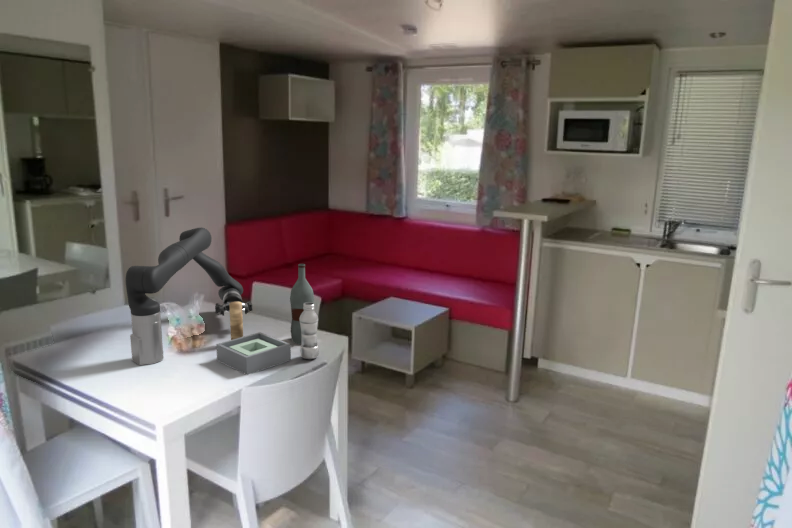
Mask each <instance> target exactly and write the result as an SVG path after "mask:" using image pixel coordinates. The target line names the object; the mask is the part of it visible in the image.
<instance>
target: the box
mask: <svg viewBox="0 0 792 528" xmlns="http://www.w3.org/2000/svg"><path fill="white" fill-rule="evenodd" d="M255 339H260V340H263V341H265V342H268V343H270V344H273V345H275V346H278V347H275V348H272V349H269V350H266V351H262V352H259V353H256V354H253V355H249V356H246V355H244V354H241V353H239V352H237V351H235V350H233V349H230V348H229V347H230V346H234V345H237V344H241V343H244V342H248V341H251V340H255ZM215 345H216V361H218V362H219V363H222V364H224V365H226V366H228V367H230V368H232V369H234V370H237V371H238V372H240V373H242V374H244V373H245V375H246V374H247V375H246V376H249V375H250V374H253V373H257V372H260V371H263V370H266V369H268V368H271V367H274V366H278V365H281V364H283V363H286V362H289V361H291V360H292V358H291V357H292V355H291V353H292V349H291V347H292V346H291V343H290V342H286V341H284V340H281V339H279V338H277V337H273V336H271V335H268V334H266V333H264V332H261V331H259V332H256V333H255V332H254V333H251V334H248V335H245V336H244V335H243V337H240V338H237V339H233V340H231V339H230V340H226V341H223V342H219V343H216V344H215Z"/></svg>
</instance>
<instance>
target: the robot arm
mask: <svg viewBox="0 0 792 528" xmlns="http://www.w3.org/2000/svg"><path fill="white" fill-rule="evenodd" d="M178 239H179V241H177V242H176V241H175V242H174V243H172V244H170V245H168V246H167V247H166V248H164V249H163V250H161V252H160V253H159V254H158V257H157V263H158V265H154V266H153V265H132V266H130V267H128V269H127V270H126V274H125V288H126V295H127V305H128V306H129V309H130V319H131V321H130V322H131V332H132V333H131V334H130V335H129V336H130V339H129V340H130V348H131V349H130V350H131V361H132V362H134V363H136V365H139V366H143V365H152V364H156V363H159V362H161V361H163V360H164V358H165V357H164V345H163V344H164V343H163V333H162V320H161V319H162V317H161V315H162V314H161V305H160V303H159V302H158V301H156V300H154V299H152V298H150V297H149V296H148V295H149V294H150V295H151V294H157V293H159V292H160V291H161V290H162V289H163V288H164V286H165V285H166V284H167V283H168V282H169V280H170V279H171V278H172V277H173V276H174V275H176V274H177V273H178V272H179V271H181V269H183V268H184V267H185V266H186V265H187V264H189V262H190V261H192V260H193V261H194V262H195V263H197V265H199V266H200V267H201V268H202V269H203V270H204V272H206V274H207V275H208V276H209V278H210V279H211V281H212V282H213V283H214V284H215V286H216V287H218V288H219V290H218V297H219V298H220V299H221V301H222V304H220V303H219V302H217V303H215V305H214V310H215V312H214V313H215V314H219V315H220V316H221V315H222V316H225V314H226V313H230V306H229V303H231V302H242V313H244V314H245V315H247V314H248V313H249V311H250V312H252V311H254V309H253V303H252V302H251V301H247V302H246V303H245V302H243V299H242V298H243V297H242V294H243V293H244V287H243V285H242V284H241V283H240V282H239V281H238V280H236V279H235V278H233V276H231V275H230V274H229V272H228V271H227V270H226V268H225V267H224V266H223V264H221V263H220V262H219V261H217V260H216V259H214V258H212V257H210V256H208V255H207V254H205V253H204V251H206V250H207V249H209V248H210V247H211V244H212V239H213V238H212V235H211V232H210V231H209V230H208V229H207V228H205V227H202V226H201V227H195V228H191V229H188V230H187V229H186V230H184V231H182V232H181V233H180V234H179V238H178ZM147 294H148V295H147Z"/></svg>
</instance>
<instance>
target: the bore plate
mask: <svg viewBox="0 0 792 528" xmlns="http://www.w3.org/2000/svg"><path fill="white" fill-rule="evenodd" d="M275 347H278V346H275V345H273V344H270V343H268V342H265V341H263V340H260V339H255V340H251V341H248V342H244V343H241V344H237V345H234V346H230V347H229V348H230V349H233V350H235V351H237V352H239V353H241V354H244V355H246V356H249V355H253V354H256V353H259V352H262V351H266V350H269V349H272V348H275Z"/></svg>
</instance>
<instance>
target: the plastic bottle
mask: <svg viewBox="0 0 792 528" xmlns="http://www.w3.org/2000/svg"><path fill="white" fill-rule="evenodd" d="M303 309H304V311H303V312H302V314H301V315H300V318H299V319H300V326H301V333H302V334H301V335H302V338H301V344H300V349H299V353H300V356H301V357H302V359H305V360H313V359H316V358H318V357H319V354H320V348H319V343H318V327H319V315H318V314H317V313H316V311H315V310H316V309H315V302H314V303H310V302H309V303H304V307H303Z"/></svg>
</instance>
